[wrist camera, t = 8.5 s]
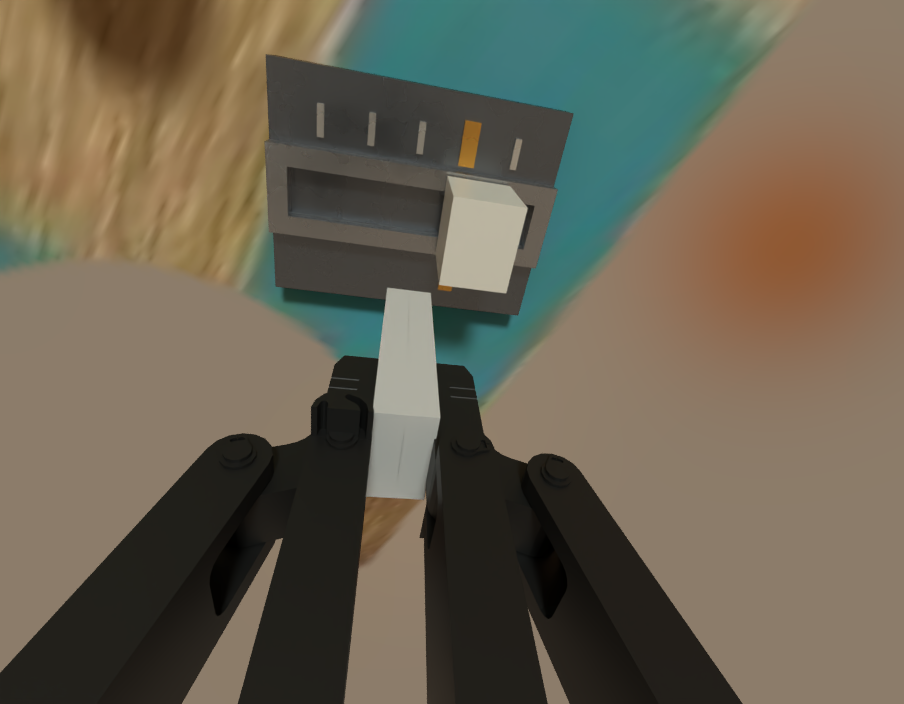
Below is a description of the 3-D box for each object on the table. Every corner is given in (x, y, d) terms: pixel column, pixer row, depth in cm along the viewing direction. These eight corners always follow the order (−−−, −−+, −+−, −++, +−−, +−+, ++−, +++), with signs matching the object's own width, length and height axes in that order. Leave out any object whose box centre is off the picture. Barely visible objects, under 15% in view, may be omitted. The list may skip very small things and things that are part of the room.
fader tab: (434, 247, 31) (438, 284, 26) (446, 171, 29) (453, 196, 23) (490, 254, 32) (506, 293, 26) (506, 181, 29) (527, 207, 24)
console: (282, 275, 34) (271, 292, 31) (275, 55, 26) (260, 53, 24) (513, 304, 36) (520, 321, 34) (564, 111, 29) (578, 115, 26)
